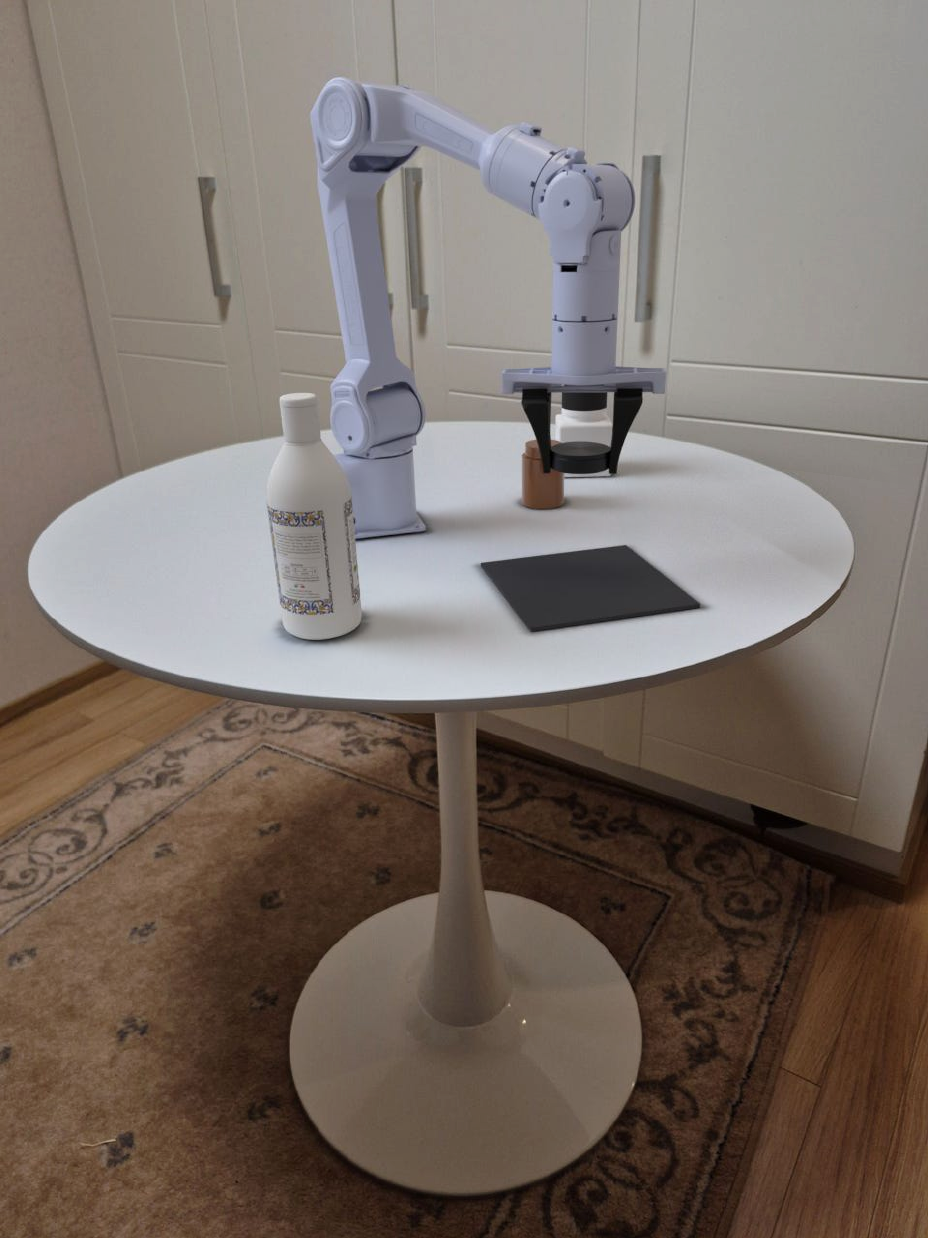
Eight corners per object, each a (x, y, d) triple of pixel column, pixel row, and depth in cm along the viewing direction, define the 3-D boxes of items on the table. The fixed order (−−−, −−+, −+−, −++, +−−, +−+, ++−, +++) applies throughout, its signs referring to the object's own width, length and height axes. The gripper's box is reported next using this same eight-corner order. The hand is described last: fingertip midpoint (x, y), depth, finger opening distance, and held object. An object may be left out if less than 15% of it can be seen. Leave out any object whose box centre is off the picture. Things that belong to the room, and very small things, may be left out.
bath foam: (332, 602, 80) (310, 384, 72) (378, 623, 76) (359, 394, 67) (268, 625, 76) (236, 397, 68) (312, 650, 72) (284, 408, 63)
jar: (529, 511, 103) (530, 450, 100) (516, 498, 108) (515, 440, 105) (570, 506, 105) (571, 446, 101) (554, 494, 109) (555, 436, 106)
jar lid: (610, 475, 78) (611, 456, 77) (547, 474, 78) (548, 455, 78) (610, 458, 83) (610, 441, 82) (551, 458, 84) (551, 440, 83)
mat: (530, 631, 74) (530, 627, 73) (480, 566, 88) (480, 562, 87) (699, 607, 77) (700, 603, 77) (625, 548, 91) (625, 544, 91)
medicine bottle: (611, 476, 116) (615, 385, 111) (558, 478, 116) (560, 387, 111) (604, 463, 122) (608, 376, 117) (554, 464, 122) (555, 377, 117)
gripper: (666, 312, 78) (656, 460, 83) (506, 314, 80) (507, 458, 85) (671, 321, 71) (660, 480, 77) (498, 323, 73) (500, 478, 79)
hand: (580, 470), depth 81 cm, fingers closed on jar lid, 5 cm apart
